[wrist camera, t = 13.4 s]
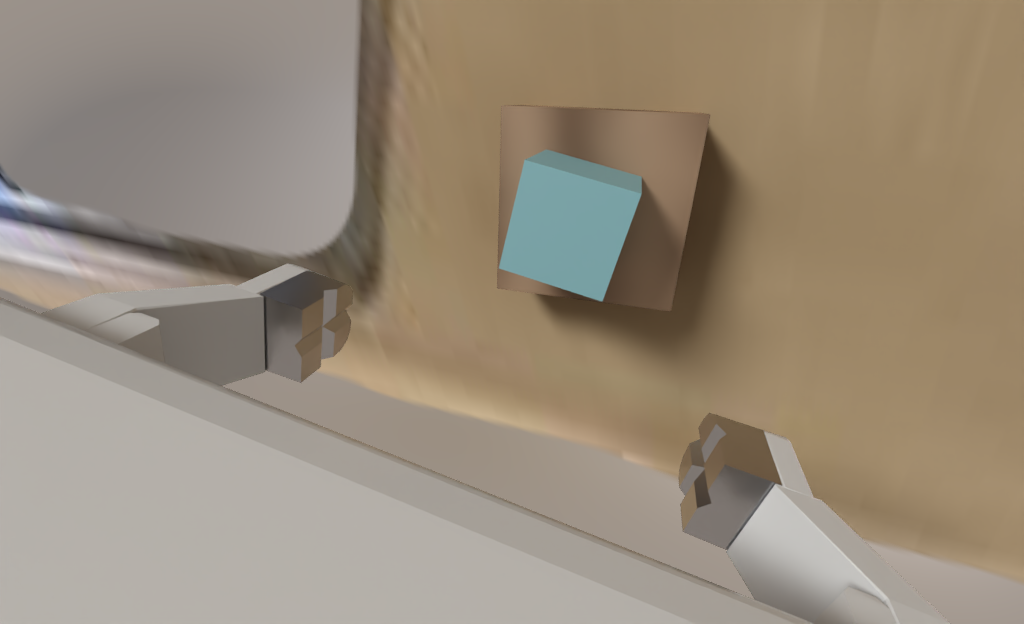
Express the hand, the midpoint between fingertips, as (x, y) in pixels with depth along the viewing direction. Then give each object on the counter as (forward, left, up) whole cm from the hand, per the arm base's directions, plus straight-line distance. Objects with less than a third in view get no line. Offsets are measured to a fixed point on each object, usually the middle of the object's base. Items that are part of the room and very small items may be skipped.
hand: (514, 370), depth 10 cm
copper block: (0, 0, -21) cm, 21 cm away
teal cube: (+1, 0, -16) cm, 16 cm away
